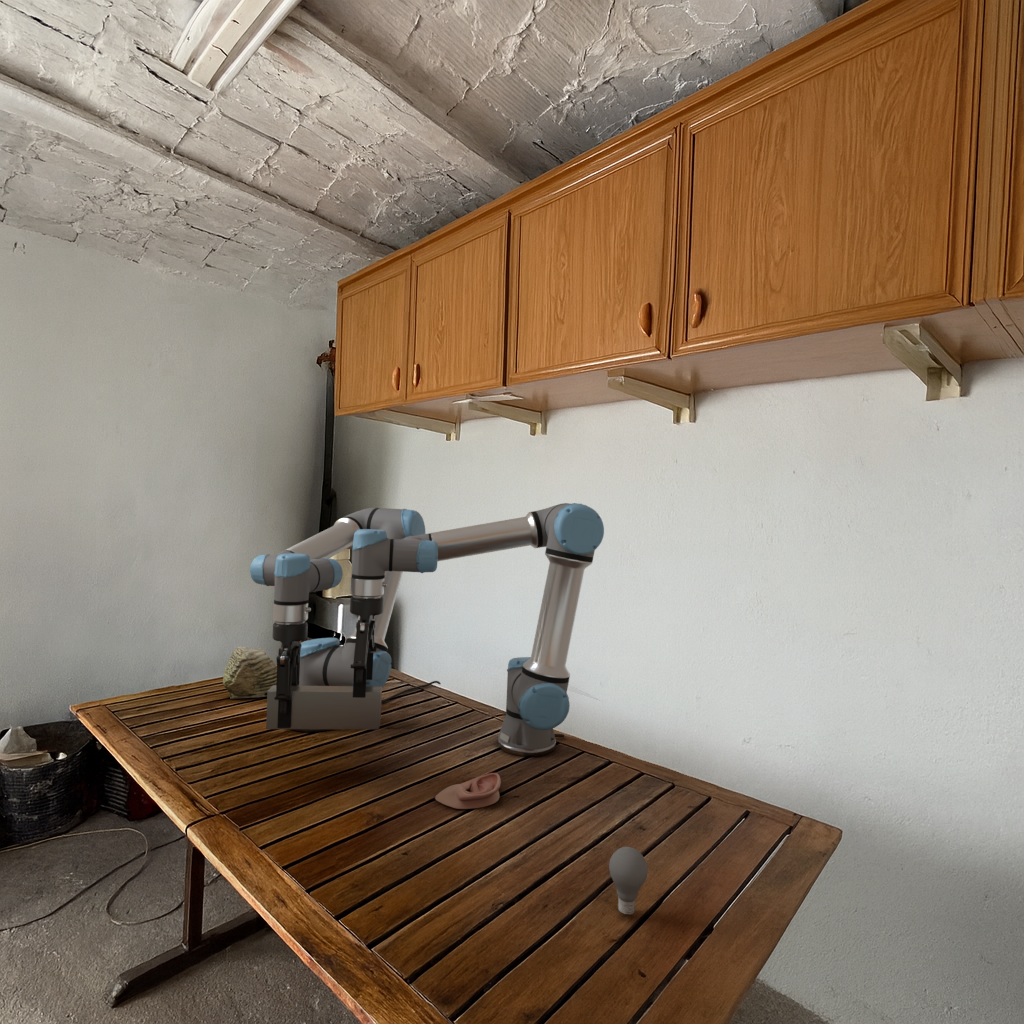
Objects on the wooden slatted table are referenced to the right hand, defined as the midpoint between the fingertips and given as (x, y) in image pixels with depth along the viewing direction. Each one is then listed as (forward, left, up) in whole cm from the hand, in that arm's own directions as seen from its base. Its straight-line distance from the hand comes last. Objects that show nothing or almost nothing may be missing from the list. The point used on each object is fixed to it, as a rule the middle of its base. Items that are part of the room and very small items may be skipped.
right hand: (362, 688), depth 146 cm
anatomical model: (-18, +21, -20) cm, 34 cm away
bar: (+8, -3, -9) cm, 12 cm away
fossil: (+17, -67, -20) cm, 71 cm away
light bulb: (-26, +66, -20) cm, 74 cm away
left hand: (+16, -6, -8) cm, 19 cm away
